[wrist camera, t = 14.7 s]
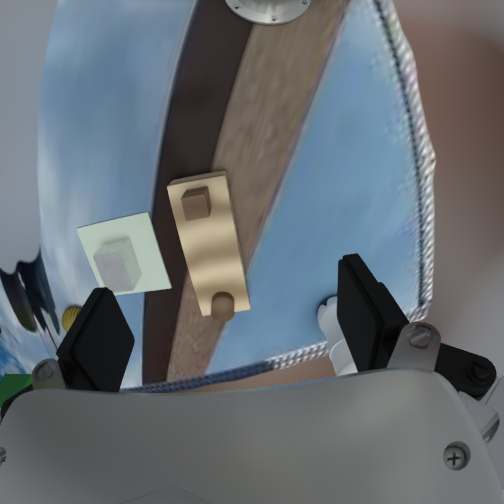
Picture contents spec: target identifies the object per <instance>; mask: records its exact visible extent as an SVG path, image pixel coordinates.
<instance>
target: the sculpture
mask: <svg viewBox="0 0 504 504" xmlns="http://www.w3.org/2000/svg"><path fill="white" fill-rule="evenodd" d="M80 310H81V308H77V307H72V308H69V309H67V310H66V311H65V312H64V314H63V315H62V325H63V328H64V330H65V331H66V332H68V330H69V329H70V327H71V325H72V324H73V322H74V320H75V318H76V317H77V315H78V313H79V312H80Z"/></svg>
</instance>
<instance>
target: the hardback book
mask: <svg viewBox="0 0 504 504" xmlns="http://www.w3.org/2000/svg"><path fill="white" fill-rule="evenodd" d="M30 384H32V379H31V374H5V375H4V377H3V378H2V380H1V382H0V411H1V407H2V404H3V402H4V401H5V400H7V399H8V398H10V397H11V396H13V395H15V394H16V393H18V392H19V391H21V390H22V389H24V388H26V387H27V386H29V385H30ZM0 418H1V417H0Z"/></svg>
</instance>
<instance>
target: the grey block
mask: <svg viewBox="0 0 504 504" xmlns="http://www.w3.org/2000/svg"><path fill="white" fill-rule="evenodd" d="M93 259H94V261H95V264H96V266H97V269H98V271H99V274H100V276H101V278H102V281H103V283H104V285H105V287H107V288H108V289H109V290H112V291H113V293H116V292H124V291H132V290H134V289H135V287H136V285H137V283H138V281H139V279H140V277H141V275H142V272H141V269H140V266H139V264H138V261H137V258H136V255H135V252H134V249H133V246H132V243H131V240H130V237H127V238H122V239H117V240H112V241H107V242H104V243H103V244H102V245H101V246H100V248H99V249H98V250H97V251H96V252H95V253H94V255H93Z"/></svg>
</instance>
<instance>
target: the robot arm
mask: <svg viewBox="0 0 504 504" xmlns="http://www.w3.org/2000/svg"><path fill="white" fill-rule="evenodd" d="M225 2H226V4H227V6H228V7H229V8H230V10H231V11H232V12H234V13H235V14H236V15H237V16H239V17H241V18H242V19H244V20H247V21H249V22H252V23H256V24H260V25H280V24H285V23H288V22H291V21H293V20H295V19H297V18H299V17H300V16H301V15H302V14H303V13H304V12H305V11H306V10H307V8H308V7H309V5H310V3H311V0H225ZM302 3H304V4H305V5H304V4H302ZM236 7H238V9H235V8H236ZM273 19H274V20H275V21H272V20H273ZM337 320H338V323H339V325H340V328H341V330H342V333H343V335H344V338H345V340H346V343H347V345H348V348H349V350H350V353H351V356H352V358H353V361H354V363H355V366H356V369H357V371H358V372H357V373H351V374H345V375H340V376H335V377H330V378H324V379H319V380H312V381H305V382H299V383H292V384H286V385H278V386H271V387H262V388H252V389H242V390H230V391H217V392H198V393H120V392H119V389H120V386H121V383H122V379H123V376H124V373H125V370H126V367H127V364H128V361H129V358H130V355H131V352H132V349H133V346H134V342H135V340H134V336H133V334H132V332H131V330H130V328H129V326H128V324H127V322H126V319H125V317H124V315H123V313H122V311H121V309H120V307H119V304H118V302H117V300H116V298H115V296H114V293H113V291H112V290H109V289H108V288H107V287H101V288H95V289H94V290H93V291H92V293H91V294H90V296H89V297H88V299H87V301H86V302H85V304H84V305H83V307H82V309H81V310H80V312H79V313H78V315H77V317H76V318H75V320H74V322H73V324H72V325H71V327H70V329H69V330H68V332H67V334H66V336H65V337H64V339H63V341H62V343H61V345H60V346H59V348H58V350H57V352H56V355H57V356H58V357H59V359H58V361H56V360H55V359H52V358H49V359H45V360H43V361H41V362H40V363H38V364H37V365H36V366H35V368H34V369H33V371H32V374H31V379H32V384H30V385H29V386H27V387H26V388H24V389H22V390H21V391H19V392H18V393H16V394H15V395H13V396H11V397H10V398H8V399H7V400H5V401H4V402H3V404H2V407H1V411H0V417H1V418H0V504H504V497H503V493H502V490H503V488H504V376H502V377H501V378H499V377H498V376H496V369H495V366H494V365H493V364H492V362H491V361H489V360H488V359H487V358H485V357H482V356H479V355H476V354H473V353H470V352H467V351H464V350H461V349H458V348H455V347H452V346H449V345H446V344H443V343H441V335H440V333H439V331H438V330H437V329H436V328H435V327H434V326H433V325H431V324H429V323H426V322H421V321H417V322H412V323H410V322H409V321H408V319H407V318H406V316H405V315H404V313H403V312H402V310H401V309H400V307H399V306H398V304H397V303H396V301H395V300H394V298H393V297H392V295H391V294H390V292H389V291H388V289H387V288H386V287H385V285H384V284H383V283H382V282H377V280H376V279H375V277H374V276H373V274H372V273H371V271H370V270H369V269H368V267H367V266H366V264H365V263H364V261H363V260H362V259H361V257H360V256H359V255H358V254H357V253H356V254H350V255H344V256H343V259H341V260H339V262H338V291H337Z"/></svg>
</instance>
